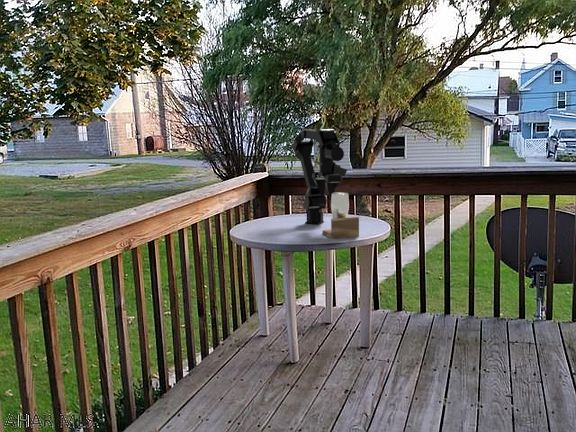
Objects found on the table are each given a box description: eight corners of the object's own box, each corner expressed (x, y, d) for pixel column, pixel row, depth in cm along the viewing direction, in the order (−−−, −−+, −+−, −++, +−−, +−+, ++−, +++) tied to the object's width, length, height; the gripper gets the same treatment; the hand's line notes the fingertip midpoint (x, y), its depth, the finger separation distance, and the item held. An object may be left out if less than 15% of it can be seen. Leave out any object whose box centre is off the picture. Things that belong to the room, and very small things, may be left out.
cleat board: (322, 233, 223) (322, 214, 222) (347, 231, 227) (347, 212, 225) (332, 238, 213) (332, 219, 212) (358, 236, 217) (358, 217, 216)
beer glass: (327, 230, 222) (327, 192, 219) (341, 228, 225) (341, 191, 222) (337, 233, 216) (337, 195, 213) (352, 231, 219) (352, 193, 216)
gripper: (354, 160, 223) (354, 198, 226) (335, 157, 241) (335, 193, 244) (328, 161, 220) (328, 200, 223) (311, 158, 237) (311, 195, 240)
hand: (326, 197), depth 232 cm, fingers open, 9 cm apart
